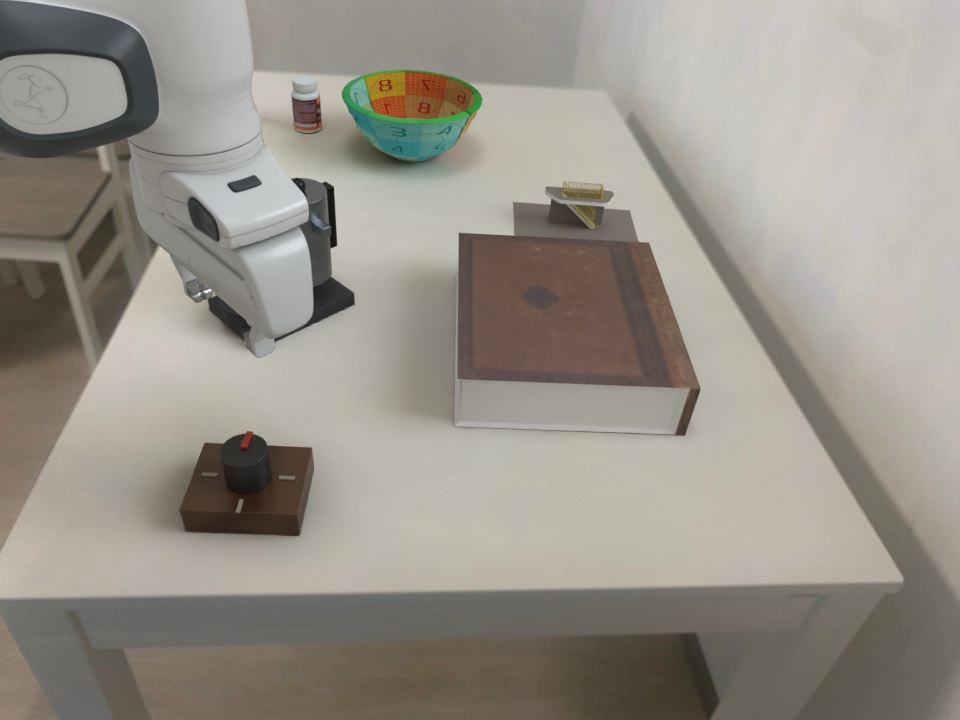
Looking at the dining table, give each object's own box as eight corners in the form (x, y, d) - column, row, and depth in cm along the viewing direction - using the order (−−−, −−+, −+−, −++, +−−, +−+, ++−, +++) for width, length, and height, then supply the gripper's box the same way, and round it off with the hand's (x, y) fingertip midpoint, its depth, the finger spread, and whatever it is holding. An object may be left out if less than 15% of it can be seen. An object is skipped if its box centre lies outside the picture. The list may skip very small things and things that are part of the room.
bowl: (316, 148, 127) (312, 88, 121) (413, 115, 141) (414, 59, 134) (409, 198, 117) (410, 135, 110) (505, 156, 130) (511, 98, 124)
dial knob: (264, 495, 67) (259, 466, 65) (219, 491, 67) (212, 461, 65) (276, 462, 70) (272, 432, 68) (233, 457, 70) (227, 428, 68)
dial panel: (184, 532, 67) (178, 509, 65) (209, 463, 74) (204, 440, 72) (299, 537, 68) (296, 514, 66) (314, 467, 74) (312, 445, 72)
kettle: (308, 301, 89) (299, 205, 81) (267, 271, 93) (255, 176, 85) (360, 278, 93) (357, 184, 85) (319, 250, 97) (312, 157, 89)
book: (638, 284, 103) (649, 242, 98) (685, 434, 81) (700, 389, 77) (456, 276, 101) (458, 232, 97) (454, 426, 80) (457, 379, 76)
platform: (641, 251, 109) (650, 210, 105) (515, 242, 109) (520, 201, 105) (629, 210, 119) (638, 171, 114) (513, 202, 118) (518, 162, 114)
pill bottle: (324, 132, 132) (322, 84, 127) (297, 135, 131) (293, 86, 125) (318, 121, 136) (315, 73, 130) (291, 123, 134) (287, 75, 129)
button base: (250, 353, 86) (246, 328, 84) (203, 312, 91) (199, 288, 89) (354, 304, 95) (354, 280, 93) (306, 269, 100) (304, 246, 98)
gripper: (92, 128, 58) (132, 280, 67) (239, 240, 47) (263, 404, 56) (171, 109, 61) (199, 256, 70) (323, 210, 51) (334, 368, 60)
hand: (229, 323), depth 63 cm, fingers open, 8 cm apart
